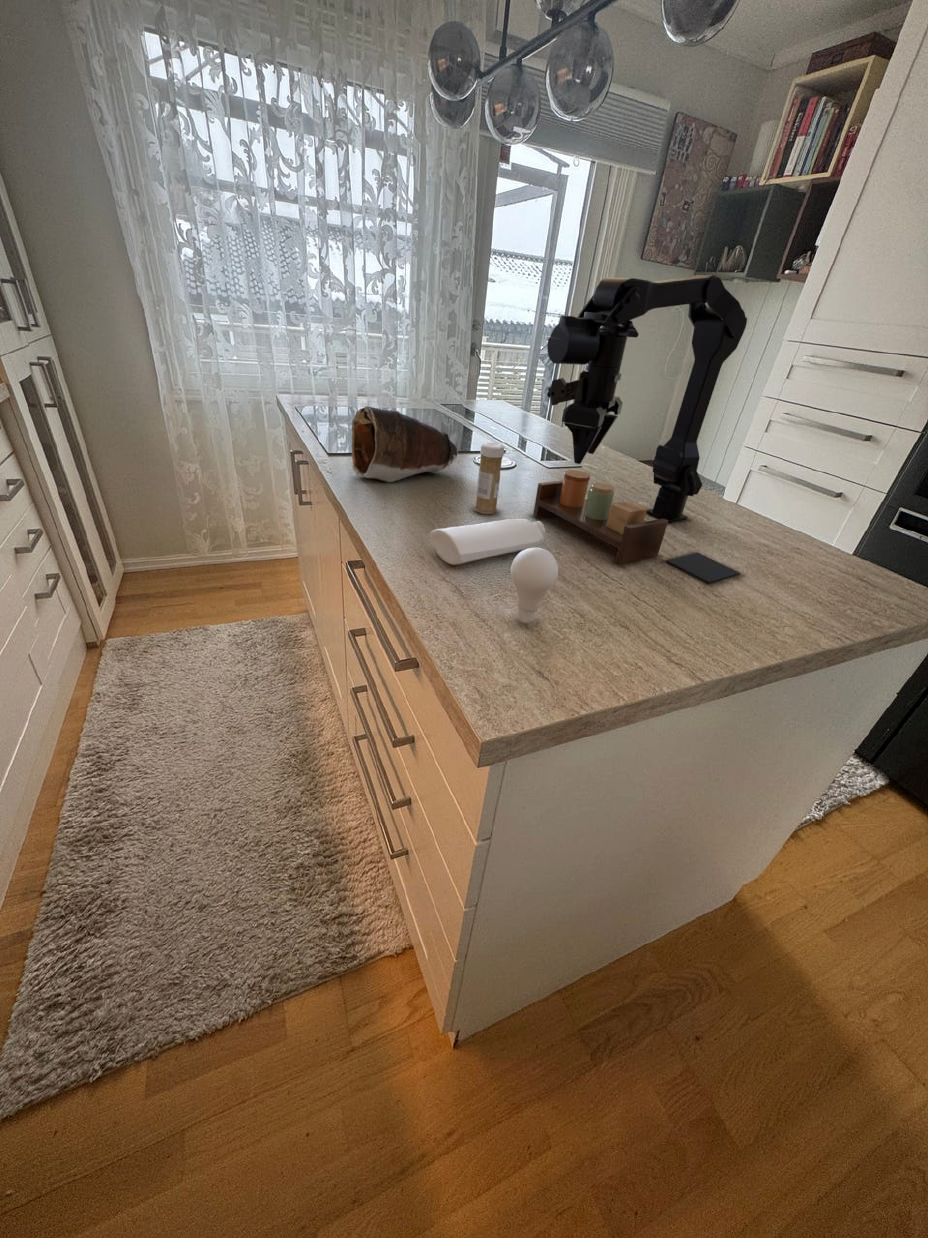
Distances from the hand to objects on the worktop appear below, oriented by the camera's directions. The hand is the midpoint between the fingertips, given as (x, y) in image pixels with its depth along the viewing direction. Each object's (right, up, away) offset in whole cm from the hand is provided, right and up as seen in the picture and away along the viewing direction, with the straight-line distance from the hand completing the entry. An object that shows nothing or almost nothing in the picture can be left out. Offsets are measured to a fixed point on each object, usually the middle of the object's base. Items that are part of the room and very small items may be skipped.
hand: (584, 458), depth 96 cm
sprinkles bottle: (-18, -8, +11) cm, 22 cm away
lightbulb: (-14, -31, -25) cm, 42 cm away
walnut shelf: (+3, -14, +5) cm, 15 cm away
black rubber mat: (+20, -21, -4) cm, 29 cm away
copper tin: (-1, -7, +8) cm, 10 cm away
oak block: (+7, -14, -2) cm, 15 cm away
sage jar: (+3, -10, +3) cm, 11 cm away
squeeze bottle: (-17, -18, -6) cm, 26 cm away
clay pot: (-36, +5, +28) cm, 45 cm away
